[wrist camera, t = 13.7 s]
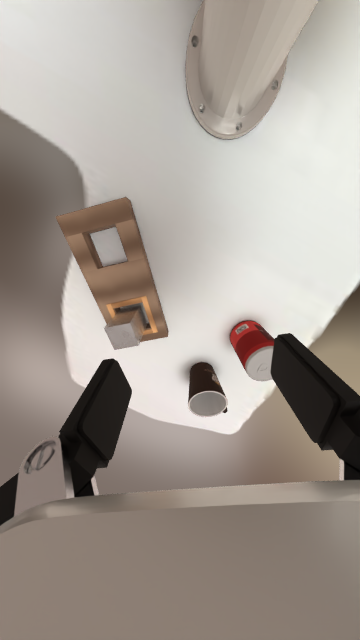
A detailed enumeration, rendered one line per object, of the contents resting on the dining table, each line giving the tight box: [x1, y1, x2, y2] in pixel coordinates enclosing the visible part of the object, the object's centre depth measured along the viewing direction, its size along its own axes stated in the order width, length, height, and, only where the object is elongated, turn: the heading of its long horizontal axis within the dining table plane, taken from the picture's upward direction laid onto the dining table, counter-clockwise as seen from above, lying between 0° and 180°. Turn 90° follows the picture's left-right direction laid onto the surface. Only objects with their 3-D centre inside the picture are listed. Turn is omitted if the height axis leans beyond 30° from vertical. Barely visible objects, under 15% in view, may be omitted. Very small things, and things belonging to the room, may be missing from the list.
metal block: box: [104, 303, 148, 350], centre depth 31 cm, size 4×4×10 cm
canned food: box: [230, 321, 275, 381], centre depth 34 cm, size 8×8×11 cm
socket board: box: [56, 197, 168, 342], centre depth 32 cm, size 26×12×3 cm, turn 12°
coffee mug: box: [188, 362, 228, 417], centre depth 40 cm, size 12×9×10 cm
